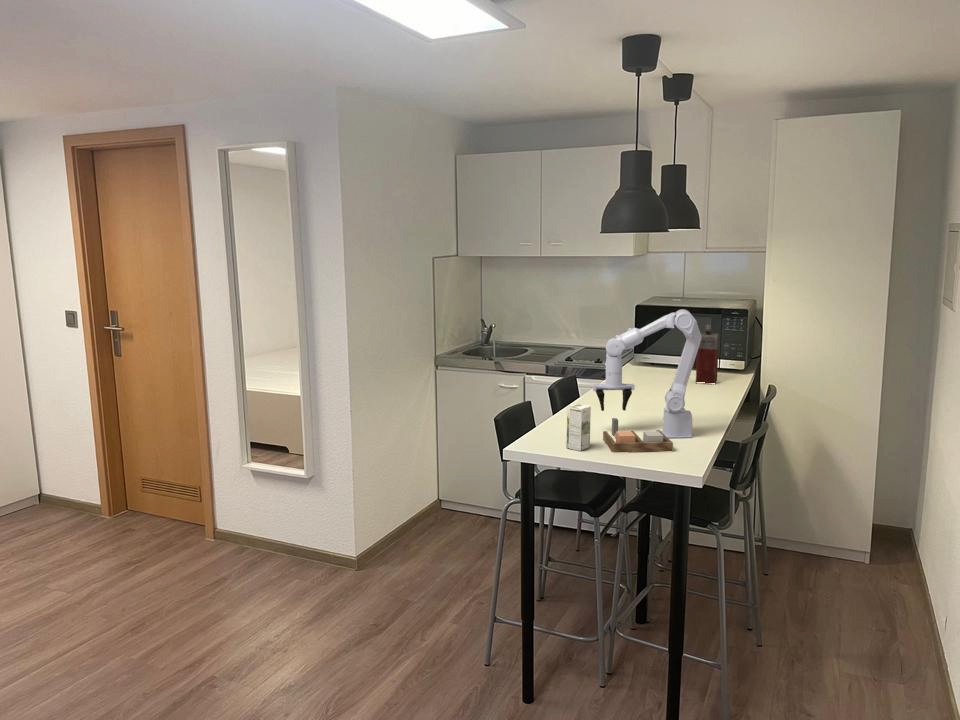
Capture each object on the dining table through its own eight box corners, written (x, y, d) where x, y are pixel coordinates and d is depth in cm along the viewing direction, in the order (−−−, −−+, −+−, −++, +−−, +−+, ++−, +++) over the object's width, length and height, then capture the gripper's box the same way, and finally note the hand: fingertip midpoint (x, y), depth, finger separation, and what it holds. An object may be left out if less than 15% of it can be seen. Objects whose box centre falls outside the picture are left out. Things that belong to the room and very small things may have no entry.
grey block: (657, 445, 245) (658, 431, 244) (662, 450, 239) (663, 435, 239) (642, 445, 245) (643, 431, 244) (647, 450, 239) (647, 435, 238)
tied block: (621, 434, 259) (621, 417, 258) (634, 450, 239) (635, 432, 238) (606, 434, 259) (607, 418, 258) (619, 450, 239) (619, 433, 238)
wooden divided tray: (659, 438, 253) (659, 430, 253) (672, 451, 237) (672, 442, 237) (603, 439, 253) (603, 431, 252) (612, 452, 237) (612, 443, 236)
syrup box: (575, 445, 247) (575, 402, 244) (590, 447, 243) (591, 405, 241) (566, 448, 242) (566, 406, 240) (581, 451, 238) (581, 408, 236)
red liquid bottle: (693, 379, 360) (695, 323, 355) (717, 381, 355) (719, 324, 351) (690, 383, 351) (692, 325, 347) (715, 384, 347) (717, 326, 343)
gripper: (631, 370, 262) (631, 407, 264) (591, 370, 262) (591, 407, 264) (636, 373, 255) (635, 411, 257) (594, 374, 255) (594, 412, 257)
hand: (613, 410), depth 260 cm, fingers open, 7 cm apart
